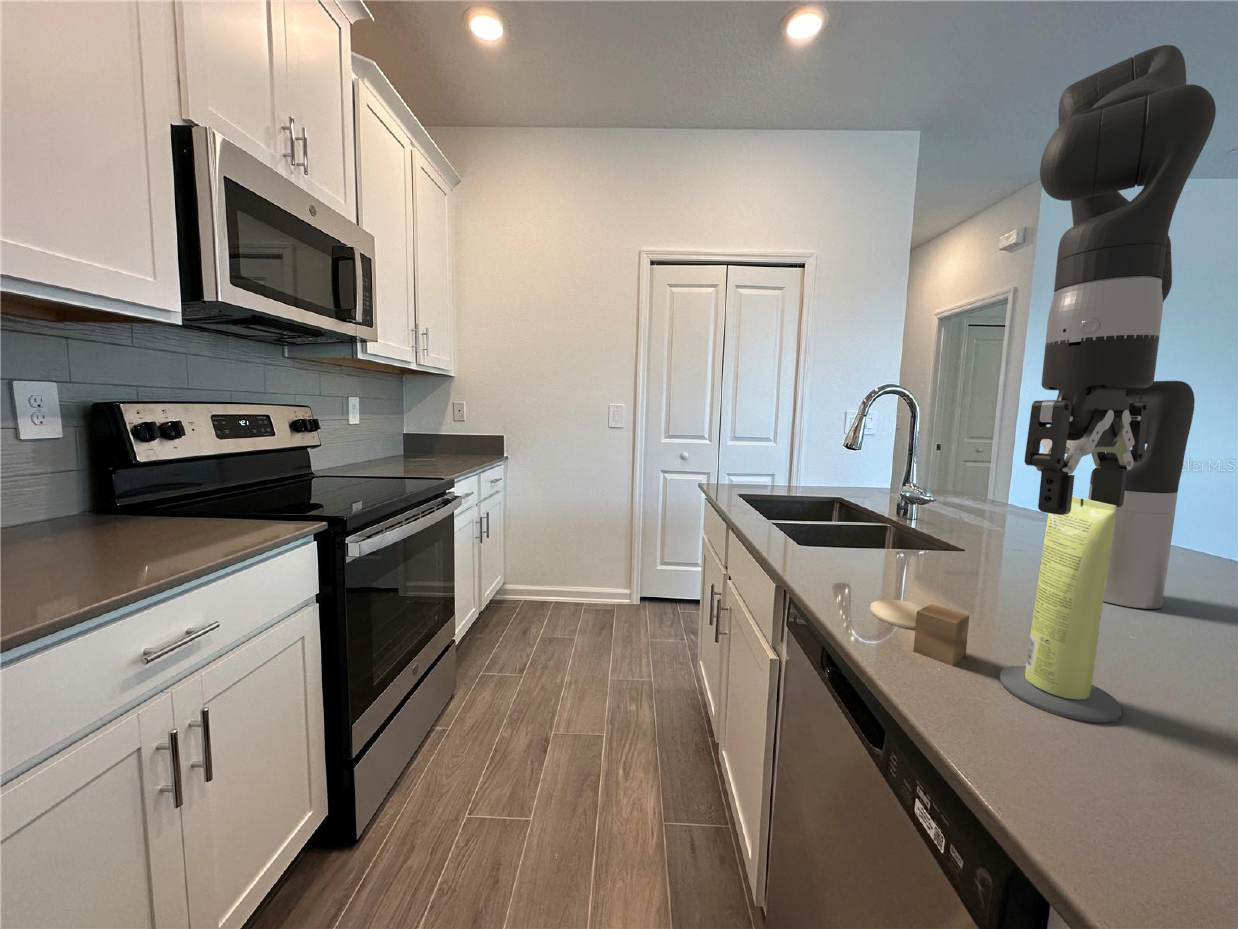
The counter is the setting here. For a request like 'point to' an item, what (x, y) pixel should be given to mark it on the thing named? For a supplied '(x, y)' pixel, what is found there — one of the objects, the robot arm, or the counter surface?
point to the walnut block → (941, 634)
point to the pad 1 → (896, 612)
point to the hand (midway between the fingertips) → (1080, 509)
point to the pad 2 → (1061, 699)
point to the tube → (1070, 599)
